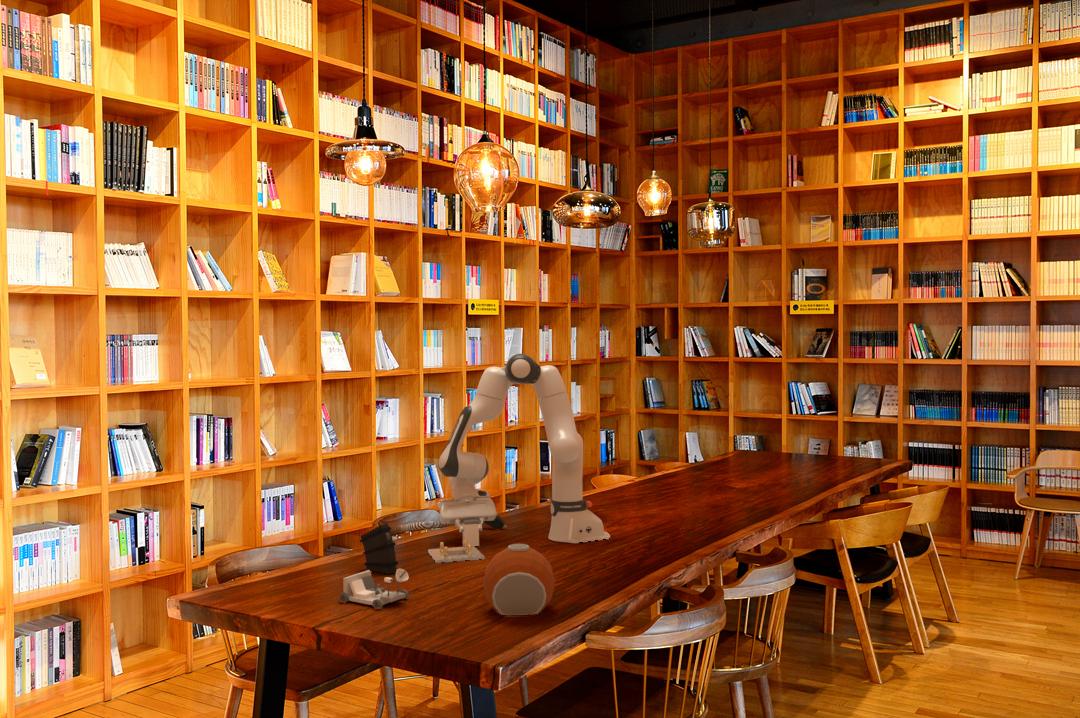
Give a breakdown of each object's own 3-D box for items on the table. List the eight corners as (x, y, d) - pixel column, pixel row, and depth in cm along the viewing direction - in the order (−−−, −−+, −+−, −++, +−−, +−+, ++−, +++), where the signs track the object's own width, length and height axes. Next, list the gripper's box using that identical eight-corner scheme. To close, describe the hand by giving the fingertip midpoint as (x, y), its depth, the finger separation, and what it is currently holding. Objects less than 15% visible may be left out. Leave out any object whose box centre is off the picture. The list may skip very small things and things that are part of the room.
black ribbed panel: (396, 571, 273) (380, 525, 277) (369, 584, 280) (355, 538, 284) (404, 568, 276) (389, 522, 280) (378, 581, 283) (363, 536, 287)
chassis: (473, 548, 309) (473, 537, 309) (484, 559, 294) (484, 547, 294) (428, 552, 305) (427, 540, 305) (436, 563, 290) (436, 550, 289)
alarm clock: (553, 600, 246) (553, 537, 246) (556, 619, 229) (556, 552, 229) (484, 601, 246) (483, 538, 246) (482, 621, 228) (481, 553, 228)
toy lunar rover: (415, 567, 247) (387, 576, 237) (416, 602, 247) (388, 613, 237) (367, 559, 256) (338, 567, 247) (367, 593, 257) (338, 603, 247)
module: (476, 544, 317) (476, 518, 317) (479, 546, 313) (478, 520, 313) (462, 545, 315) (462, 519, 315) (465, 547, 312) (464, 521, 311)
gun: (496, 544, 340) (508, 522, 339) (460, 524, 343) (471, 501, 342) (498, 543, 343) (510, 520, 342) (462, 522, 346) (473, 500, 345)
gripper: (437, 495, 318) (442, 527, 308) (493, 491, 324) (500, 523, 314) (435, 505, 322) (440, 538, 313) (490, 502, 328) (497, 533, 319)
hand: (471, 530), depth 314 cm, fingers closed on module, 5 cm apart
